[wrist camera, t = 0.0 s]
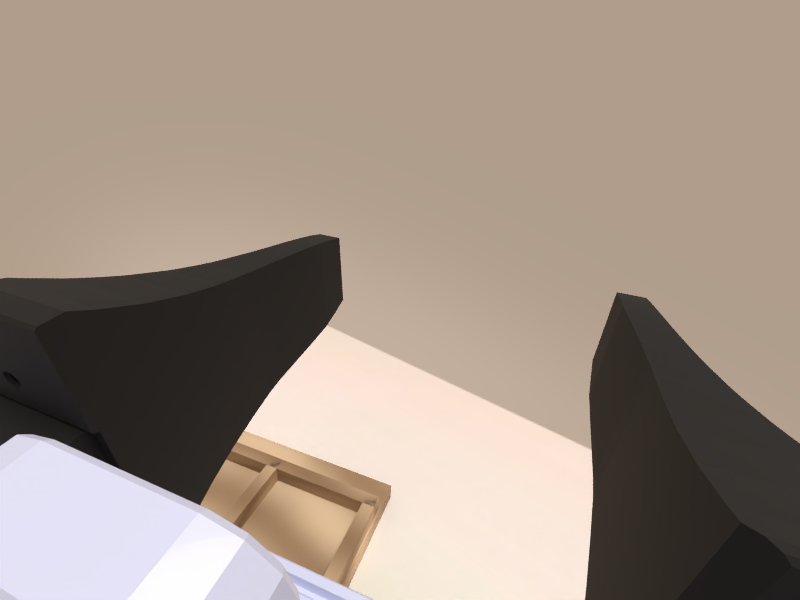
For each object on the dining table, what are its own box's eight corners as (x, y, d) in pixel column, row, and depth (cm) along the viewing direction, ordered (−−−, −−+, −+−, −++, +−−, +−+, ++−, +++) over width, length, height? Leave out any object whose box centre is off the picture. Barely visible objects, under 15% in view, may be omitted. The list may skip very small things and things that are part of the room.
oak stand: (294, 700, 20) (291, 678, 19) (67, 569, 25) (53, 544, 24) (390, 497, 30) (391, 474, 29) (214, 429, 35) (210, 407, 34)
